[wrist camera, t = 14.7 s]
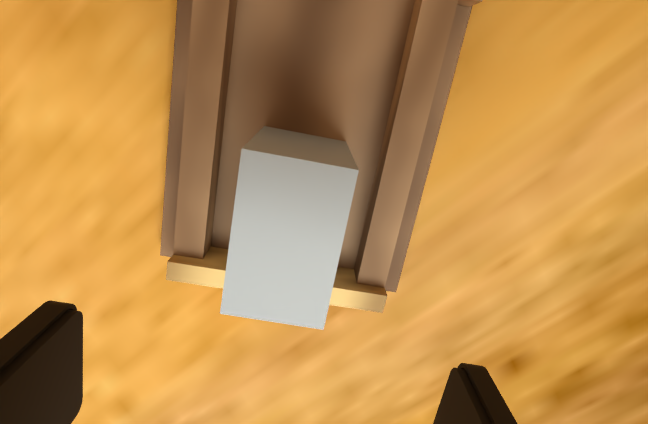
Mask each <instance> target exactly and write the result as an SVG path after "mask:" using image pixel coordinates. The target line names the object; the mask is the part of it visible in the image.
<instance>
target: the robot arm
mask: <svg viewBox="0 0 648 424" xmlns="http://www.w3.org/2000/svg"><path fill="white" fill-rule="evenodd" d="M82 398H83V315H82V312H80V311H77V308H76V306H75V305H74V304H69V303H62V302H56V301H47V302H45V303H44V304H43V305H41V306H40V307H39V308H38V309H36V310H35V311H34V312H33V313H32V314H30V315H29V316H28V317H27V318H26V319H24V320H23V321H22V322H21V323H20V324H18V325H17V326H16V327H15V328H13V329H12V330H11V331H10V332H9V333H7V334H6V335H5V336H4V337H3V338H1V339H0V424H71V423H72V421H73V420H74V419H75V417H76V416H77V414H78V412H79V410H80V407H81V404H82ZM433 424H517V422H516V420H515V419H514V417H513V415H512V413H511V412H510V410H509V408H508V406H507V405H506V403H505V401H504V399H503V397H502V396H501V394H500V392H499V390H498V389H497V387H496V385H495V383H494V382H493V380H492V378H491V376H490V374H489V373H488V371H487V369H486V368H485V367H483V366H479V365H472V364H466V363H461V364H460V365H459V366H458V368H453V369H452V370H451V372H450V375H449V378H448V381H447V384H446V387H445V390H444V393H443V396H442V399H441V402H440V405H439V408H438V411H437V414H436V417H435V420H434V423H433Z"/></svg>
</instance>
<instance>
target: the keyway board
mask: <svg viewBox="0 0 648 424" xmlns="http://www.w3.org/2000/svg"><path fill="white" fill-rule="evenodd" d="M479 2H482V0H177V14H176V29H175V44H174V59H173V74H172V88H171V103H170V118H169V133H168V148H167V163H166V177H165V192H164V207H163V222H162V237H161V252H160V255H162V256H168V257H171V258H170V259H169V260H168V262H167V275H166V280H170V281H177V282H183V283H190V284H196V285H203V286H210V287H216V288H223V287H224V279H225V272H226V264H227V256H228V249H229V241H230V233H231V226H232V218H233V210H234V203H235V195H236V187H237V180H238V172H239V164H240V157H241V149H242V148H243V147H244V146H245V145H246V144H247V143H248V142H249V141H250V140H251V139H252V138H253V137H254V136H255V135H256V134H257V133H258V132H259V131H260V130H261V129H262V128H263V127H264V126H267V127H272V128H277V129H283V130H288V131H293V132H299V133H304V134H309V135H314V136H320V137H325V138H330V139H335V140H341V141H346V143H347V145H348V147H349V149H350V152H351V154H352V156H353V158H354V161H355V163H356V165H357V167H358V169H359V172H358V176H357V181H356V185H355V190H354V194H353V199H352V203H351V208H350V212H349V217H348V221H347V226H346V230H345V235H344V239H343V244H342V248H341V253H340V257H339V262H338V267H337V271H336V276H335V280H334V285H333V289H332V294H331V298H330V303H329V305H334V306H341V307H347V308H354V309H360V310H367V311H373V312H380V313H383V310H384V306H385V303H386V299H387V294H386V291H391V292H396V290H397V287H398V283H399V279H400V275H401V272H402V268H403V264H404V260H405V257H406V253H407V249H408V245H409V242H410V238H411V234H412V230H413V227H414V223H415V219H416V215H417V212H418V208H419V204H420V200H421V197H422V193H423V189H424V185H425V182H426V178H427V174H428V170H429V167H430V163H431V159H432V155H433V152H434V148H435V144H436V140H437V137H438V133H439V129H440V125H441V122H442V118H443V114H444V110H445V107H446V103H447V99H448V95H449V92H450V88H451V84H452V80H453V77H454V73H455V69H456V65H457V62H458V58H459V54H460V50H461V47H462V43H463V39H464V35H465V32H466V28H467V24H468V20H469V17H470V13H471V9H472V6H473V5H475V4H477V3H479Z"/></svg>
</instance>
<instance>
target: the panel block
mask: <svg viewBox="0 0 648 424" xmlns="http://www.w3.org/2000/svg"><path fill="white" fill-rule="evenodd" d="M358 172H359V169H358V167H357V165H356V163H355V161H354V158H353V156H352V154H351V152H350V149H349V147H348V145H347V143H346V141H341V140H335V139H330V138H325V137H320V136H314V135H309V134H304V133H299V132H293V131H288V130H283V129H277V128H272V127H267V126H264V127H263V128H262V129H261V130H260V131H259V132H258V133H257V134H256V135H255V136H254V137H253V138H252V139H251V140H250V141H249V142H248V143H247V144H246V145H245V146H244V147H243V148H242V149H241V157H240V164H239V172H238V180H237V187H236V195H235V203H234V210H233V218H232V226H231V233H230V241H229V249H228V256H227V264H226V272H225V279H224V287H223V295H222V303H221V310H220V314H225V315H232V316H238V317H245V318H251V319H258V320H264V321H270V322H277V323H283V324H290V325H296V326H303V327H309V328H316V329H322V330H324V325H325V321H326V316H327V312H328V307H329V303H330V298H331V294H332V289H333V285H334V280H335V276H336V271H337V267H338V262H339V257H340V253H341V248H342V244H343V239H344V235H345V230H346V226H347V221H348V217H349V212H350V208H351V203H352V199H353V194H354V190H355V185H356V181H357V176H358Z"/></svg>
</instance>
